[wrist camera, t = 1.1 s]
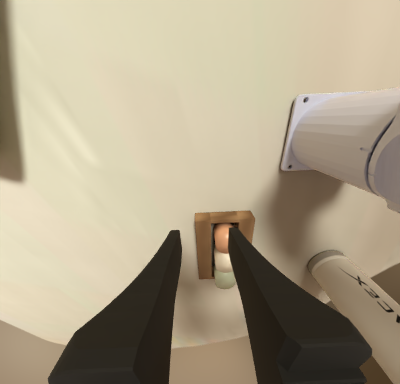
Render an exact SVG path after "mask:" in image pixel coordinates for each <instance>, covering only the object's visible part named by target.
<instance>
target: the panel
mask: <svg viewBox="0 0 400 384" xmlns="http://www.w3.org/2000/svg"><path fill="white" fill-rule="evenodd" d="M231 222H235V227H237V228H238V229H239V230H240V231H241V232H242V234H243V235H244V236H245V237H246V238H247V240H248V241H249V242H250V243H251V244H252V237H253V230H254V224H255V218H254V216H253V214H252V213H251V211H232V212H211V213H195V226H196V241H197V255H198V269H199V279H214V278H215V274H214V266H211V223H231ZM233 273H234V272H233ZM234 277H235V275H234Z"/></svg>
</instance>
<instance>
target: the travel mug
mask: <svg viewBox="0 0 400 384" xmlns="http://www.w3.org/2000/svg"><path fill="white" fill-rule="evenodd" d="M308 270H309V271H310V273H311V274H312V275H313V277H314V278H315V279H316V281H317V282H318V283H319V285H320V286H321V287H322V289H323V290H324V291H325V293H326V294H327V295H328V297H329V298H330V299H331V301H332V302H333V303H334V305H335V306H336V307H337V309H338V310H339V311H340V312H341V314H342V315H344V316H345V317H347V318H348V319H349V320H350V321H351V322H352V323H353V324H354V326H355V327H356V328H357V329H358V331H359V332H360V333H361V335H362V336H363V337H364V339H365V340H366V341H367V343H368V344H369V345H370V347H371V348H372V355H373V357H374V358H375V359H376V361H377V362H378V363H379V365H380V366H381V367H382V369H383V370H384V371H385V372H386V374H387V375H388V377H389V378H390V379H391V381H392V382H393V383H394V384H400V305H399V304H397V303H396V302H395V301H394V300H393V299H392V298H391V297H390V296H389V295H388V294H386V293H385V292H384V291H383V290H382V289H381V288H380V287H379V286H378V285H377V284H375V283H374V282H373V281H372V280H371V279H370V278H369V277H368V276H367V275H366V274H365V273H363V272H362V271H361V270H360V269H359V268H358V267H357V266H356V265H355V264H354V263H353V262H351V261H350V260H349V259H348V258H347V257H346V256H345V255H344V254H343V253H341V252H339V251H325V252H322V253H320V254H318V255H316V256H315V257H313V258H312V259H311V261H310V262H309V264H308Z"/></svg>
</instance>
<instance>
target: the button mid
mask: <svg viewBox="0 0 400 384" xmlns="http://www.w3.org/2000/svg"><path fill="white" fill-rule="evenodd" d="M213 250H214V257H215V265H216V269H217V270H218V271H220V272H223V273H228V272H232V271H233V269H232V265H231V262H230V257H229V254H224V253H221V252H219V251H218V250H217V249H216V244H215V246H214V248H213Z"/></svg>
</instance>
